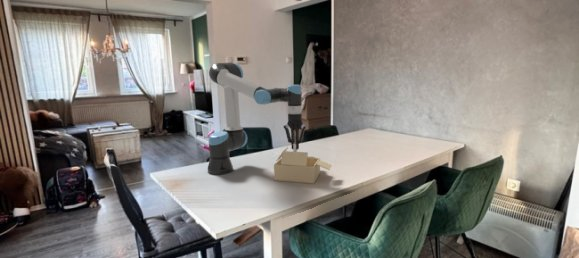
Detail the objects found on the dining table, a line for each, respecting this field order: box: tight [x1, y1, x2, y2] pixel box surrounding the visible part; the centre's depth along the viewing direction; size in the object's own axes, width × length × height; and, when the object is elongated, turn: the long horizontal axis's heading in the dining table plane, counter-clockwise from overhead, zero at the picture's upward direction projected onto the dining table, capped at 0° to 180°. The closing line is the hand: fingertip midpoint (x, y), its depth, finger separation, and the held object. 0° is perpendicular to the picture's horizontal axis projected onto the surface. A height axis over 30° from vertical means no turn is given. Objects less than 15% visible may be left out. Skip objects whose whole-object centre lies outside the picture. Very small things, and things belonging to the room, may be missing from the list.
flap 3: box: [316, 159, 333, 171], centre depth 172 cm, size 8×8×1 cm
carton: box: [273, 157, 321, 185], centre depth 176 cm, size 22×18×9 cm
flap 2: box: [280, 150, 309, 166], centre depth 168 cm, size 14×8×1 cm
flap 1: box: [276, 146, 289, 162], centre depth 178 cm, size 8×8×1 cm
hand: (295, 154), depth 175 cm, fingers closed
